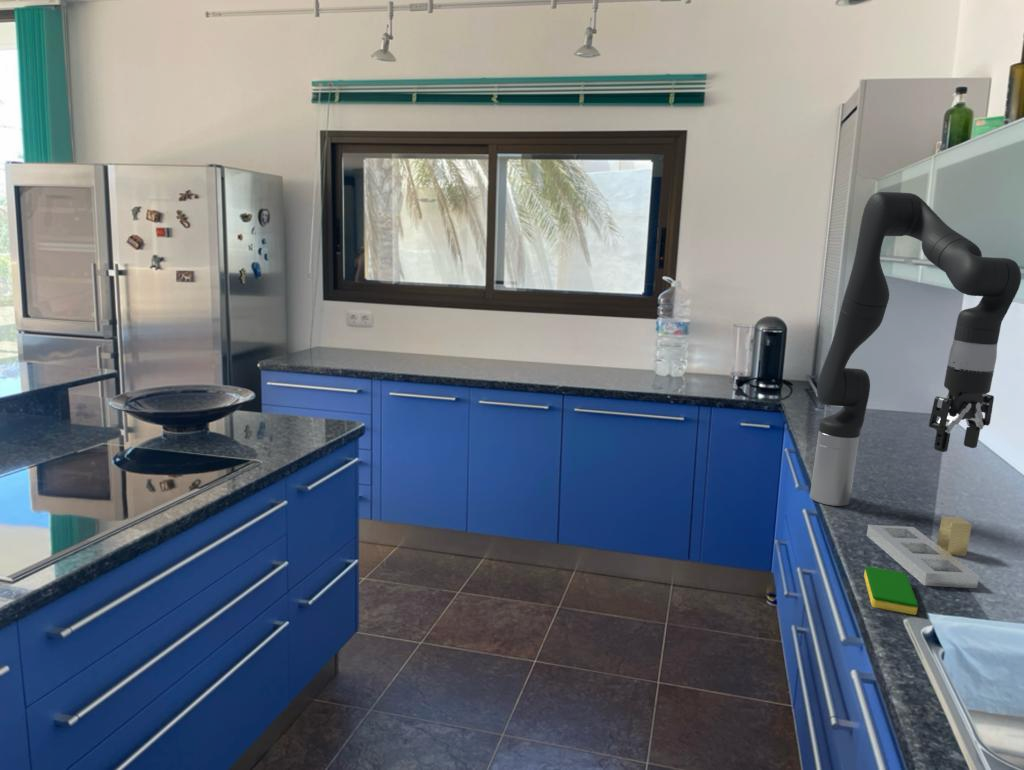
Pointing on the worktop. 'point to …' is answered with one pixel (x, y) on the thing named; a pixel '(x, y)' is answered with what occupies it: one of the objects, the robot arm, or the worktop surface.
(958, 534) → the brass peg
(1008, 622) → the worktop surface
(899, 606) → the dish sponge
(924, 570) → the rail plate
